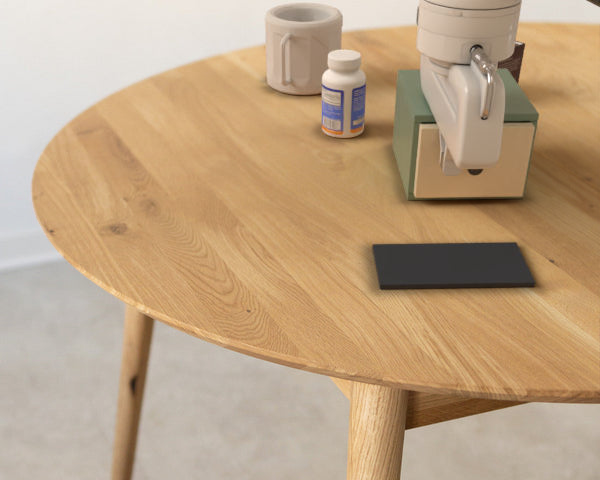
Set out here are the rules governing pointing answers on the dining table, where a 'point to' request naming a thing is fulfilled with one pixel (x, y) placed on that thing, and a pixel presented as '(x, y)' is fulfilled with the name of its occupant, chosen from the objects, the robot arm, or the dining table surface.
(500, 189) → the drawer
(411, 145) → the cabinet
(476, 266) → the mat
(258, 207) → the dining table surface
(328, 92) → the pill bottle
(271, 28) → the mug
